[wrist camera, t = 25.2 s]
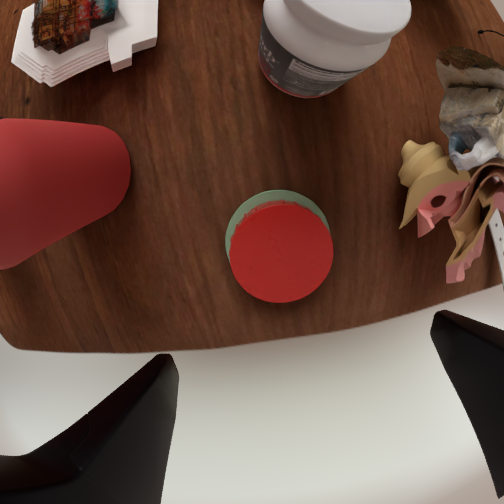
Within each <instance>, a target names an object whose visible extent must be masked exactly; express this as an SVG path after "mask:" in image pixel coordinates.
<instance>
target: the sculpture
mask: <svg viewBox="0 0 504 504" xmlns="http://www.w3.org/2000/svg"><path fill="white" fill-rule="evenodd" d="M436 70H437V74H438V77H439V80H440V82H441V85H442V87H443V89H444V90H445V94H444V97H443V99H442V103H441V110H440V114H439V118H440V119H439V122H440V124H439V126H440V129H441V130H442V132H443V133H445V134H446V135H447V138H448V139H449V147H448V149H449V155H450V158H451V160H452V162H453V163H454V165H455V167H456V168H457V169H458V170H460V171H462V170H466V171H468V170H469V169H471V168H473V167H475V166H479V165H482V164H484V163H485V162H487V161H488V160H490V159H491V158H493V157H494V156H497V157H499V158H501V159H504V67H503V66H501V65H500V64H498V63H497V62H495V61H494V60H493V59H491V58H489V57H487V56H485V55H482V54H480V53H478V52H476V51H473V50H470V49H466V48H463V47H449V48H446V49H444V50H442V51H441V52H440V53H439V54H438V55H437V59H436ZM465 149H467V150H472V151H471V152H470V153H466V154H463V152H464V151H465Z"/></svg>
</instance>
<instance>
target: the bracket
mask: <svg viewBox="0 0 504 504" xmlns="http://www.w3.org/2000/svg"><path fill="white" fill-rule="evenodd" d="M495 157H497V156H494V157H493V158H495ZM491 159H492V158H491ZM494 178H495V179H496V180H498V177H494ZM495 224H496V225H497V226H495ZM488 225H489V228H490V232H491V235H492V239H493V242H494V246H495V250H496V254H497V258H498V263H499V267H500V272H501V277H502V283H503V289H504V255H503V252H504V228H503V224H502V221H501V217H500V214H499V211H498V209H497V208H496V210H495V212H494V214H493V216H492V218H491V219H490V221H489V223H488ZM499 239H500V241H499Z"/></svg>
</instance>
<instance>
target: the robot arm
mask: <svg viewBox="0 0 504 504" xmlns="http://www.w3.org/2000/svg"><path fill="white" fill-rule="evenodd" d="M0 119H5V118H3V117H1V118H0ZM430 335H431V338H432V341H433V343H434V345H435V347H436V349H437V352H438V354H439V356H440V359H441V361H442V364H443V366H444V368H445V370H446V372H447V374H448V376H449V378H450V380H451V382H452V384H453V386H454V388H455V390H456V392H457V394H458V396H459V398H460V400H461V402H462V404H463V406H464V408H465V410H466V413H467V415H468V417H469V419H470V421H471V423H472V426H473V428H474V430H475V433H476V435H477V438H478V440H479V442H480V445H481V448H482V450H483V453H484V456H485V459H486V462H487V465H488V467H489V470H490V473H491V477H492V480H493V483H494V486H495V490H496V493H497V496H498V498H500V497H502V496H503V495H504V330H501V329H498V328H495V327H493V326H489V325H487V324H484V323H481V322H478V321H476V320H473V319H470V318H468V317H464V316H462V315H459V314H456V313H453V312H451V311H448V310H441V311H438V312H436V313H435V315H434V319H433V323H432V327H431V331H430ZM178 382H179V374H178V370H177V368H176V365H175V363H174V360H173V358H172V356H171V355H170V354H158V355H156V356H155V357H154V358H153V359H152V360H150V361H149V362H148V363H147V364H146V365H145V366H143V367H142V368H141V369H140V370H139V371H137V372H136V373H135V374H134V375H133V376H131V377H130V378H129V379H128V380H127V381H125V382H124V383H123V384H122V385H121V386H119V387H118V388H117V389H116V390H115V391H113V392H112V393H111V394H110V395H109V396H107V397H106V398H105V399H104V400H103V401H101V402H100V403H99V404H98V405H97V406H95V407H94V408H93V409H92V410H90V411H89V412H88V414H85V415H84V416H83V417H82V418H81V419H79V420H78V421H77V422H75V423H74V424H73V425H72V426H70V427H69V428H68V429H66V430H65V431H63V432H62V433H60V434H59V435H57V436H56V437H54V438H53V439H52V440H50V441H48V442H47V443H45V444H43V445H42V446H40V447H39V448H37V449H35V450H34V451H32V452H30V453H28V454H26V455H21V456H4V455H3V456H2V455H0V504H160V503H161V497H162V491H163V485H164V478H165V472H166V467H167V461H168V455H169V450H170V445H171V439H172V433H173V429H174V423H175V418H176V408H177V395H178Z"/></svg>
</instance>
